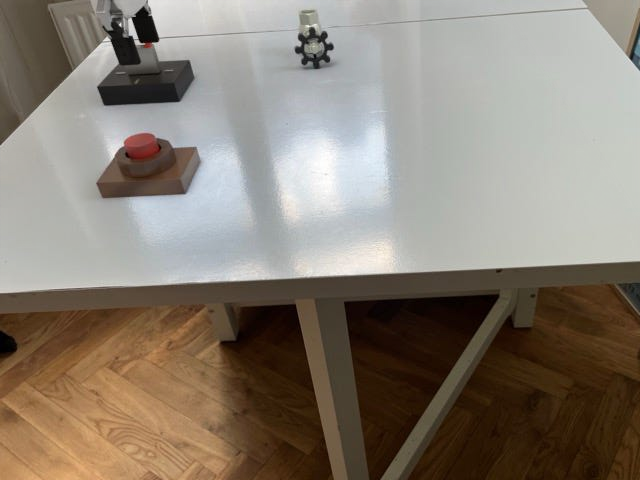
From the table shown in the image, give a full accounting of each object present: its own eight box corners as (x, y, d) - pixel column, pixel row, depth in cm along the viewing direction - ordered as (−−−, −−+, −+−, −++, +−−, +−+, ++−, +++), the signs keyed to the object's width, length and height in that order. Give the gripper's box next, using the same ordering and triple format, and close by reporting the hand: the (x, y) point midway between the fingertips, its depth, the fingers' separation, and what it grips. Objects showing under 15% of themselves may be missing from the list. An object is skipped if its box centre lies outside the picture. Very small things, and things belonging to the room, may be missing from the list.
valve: (294, 48, 103) (297, 71, 95) (288, 9, 99) (291, 30, 90) (329, 44, 104) (335, 67, 95) (325, 6, 100) (331, 26, 91)
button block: (102, 199, 66) (89, 169, 63) (124, 165, 72) (113, 137, 69) (185, 195, 66) (176, 165, 63) (201, 161, 72) (192, 133, 69)
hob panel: (103, 105, 87) (96, 85, 85) (124, 81, 95) (118, 62, 92) (179, 101, 87) (173, 81, 85) (194, 77, 94) (189, 58, 92)
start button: (124, 161, 65) (119, 147, 64) (134, 146, 68) (129, 133, 67) (154, 159, 65) (150, 146, 64) (163, 145, 68) (158, 132, 67)
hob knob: (127, 75, 88) (118, 47, 85) (131, 71, 89) (121, 44, 87) (158, 73, 88) (150, 45, 85) (161, 69, 89) (153, 42, 86)
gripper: (93, -85, 82) (134, 36, 93) (42, -61, 69) (97, 75, 81) (143, -88, 82) (178, 33, 93) (101, -66, 69) (148, 72, 80)
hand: (140, 53), depth 87 cm, fingers open, 9 cm apart
